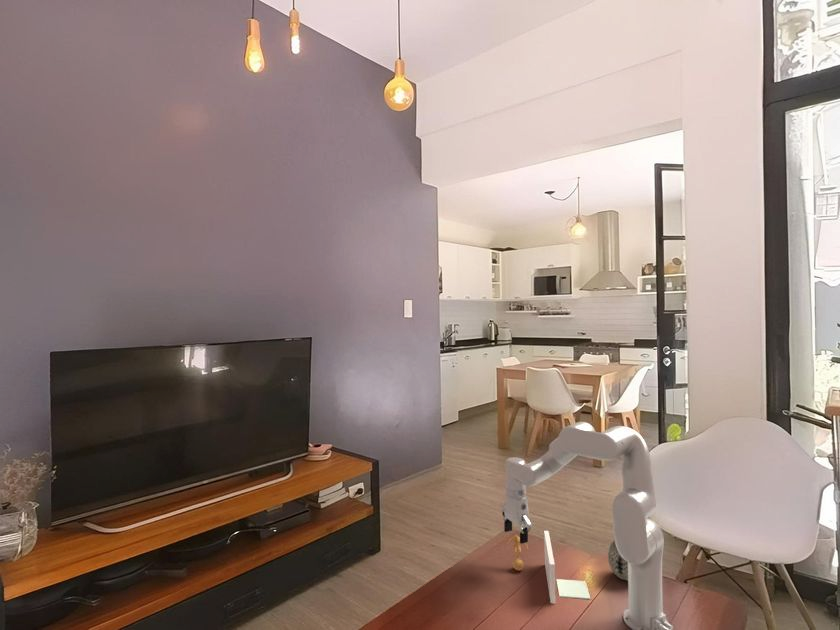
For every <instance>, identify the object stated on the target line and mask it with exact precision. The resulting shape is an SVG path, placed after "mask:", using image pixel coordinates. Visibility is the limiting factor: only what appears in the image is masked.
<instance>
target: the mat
mask: <svg viewBox="0 0 840 630" xmlns="http://www.w3.org/2000/svg"><path fill="white" fill-rule="evenodd" d="M555 581H556V586H557V590H558V595H559V596H558V597H559V598H571V599H579V600H580V599H581V600H591V595H590V593H589V592H590V591H589V588H588V585H587V582H586V580H574V579H559V578H555Z"/></svg>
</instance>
